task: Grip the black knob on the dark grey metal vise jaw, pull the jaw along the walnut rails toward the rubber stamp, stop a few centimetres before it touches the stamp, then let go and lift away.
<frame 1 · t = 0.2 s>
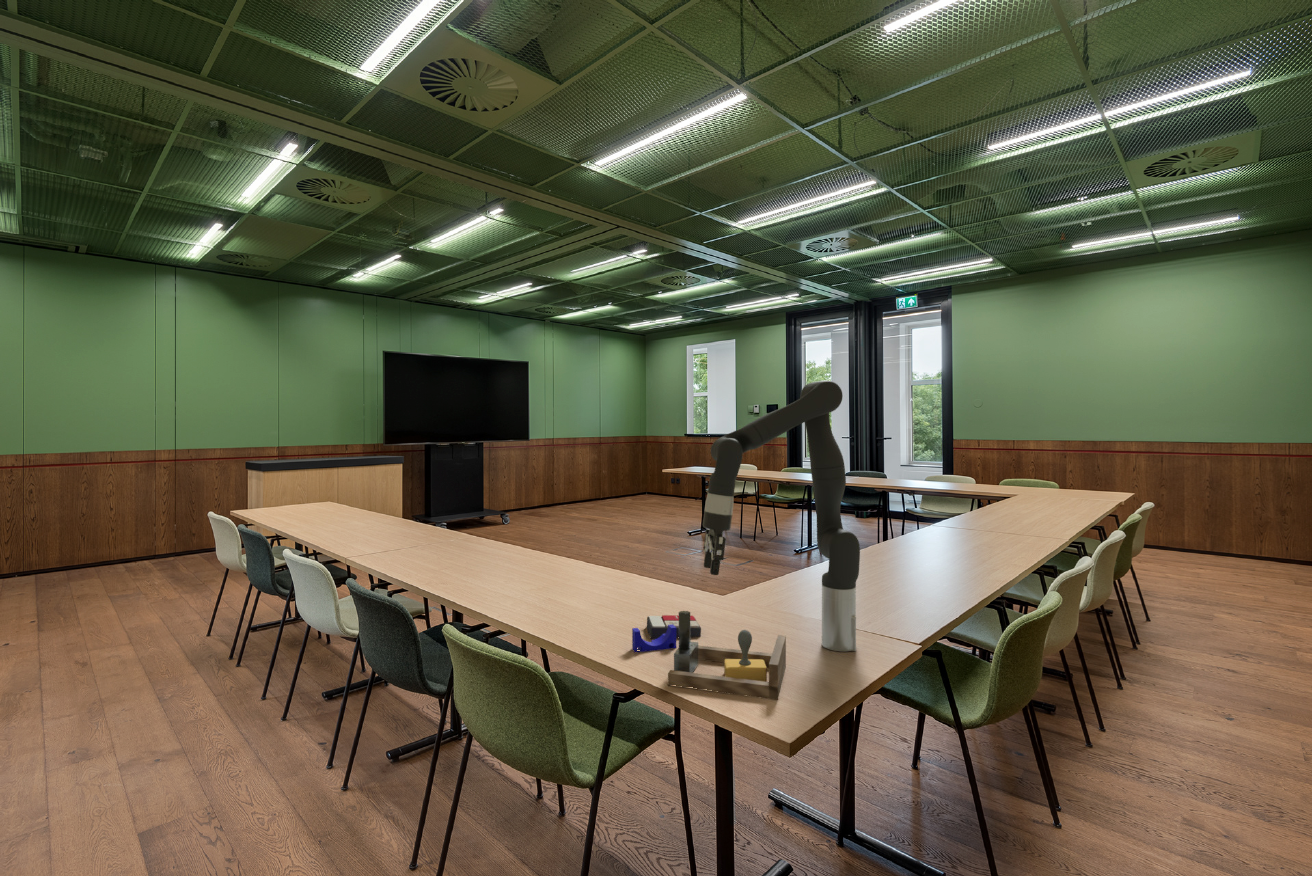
hand: (710, 571, 161), 23 cm above the table, tool pointing down, fingers open, 8 cm apart
calculator: (673, 633, 182), on the table
rubber stamp: (745, 678, 148), resting in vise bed
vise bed: (733, 676, 149), on the table
blue pipe saddle: (653, 648, 169), on the table
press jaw: (686, 641, 153), point 8 cm above the table, slide at 0.0 cm
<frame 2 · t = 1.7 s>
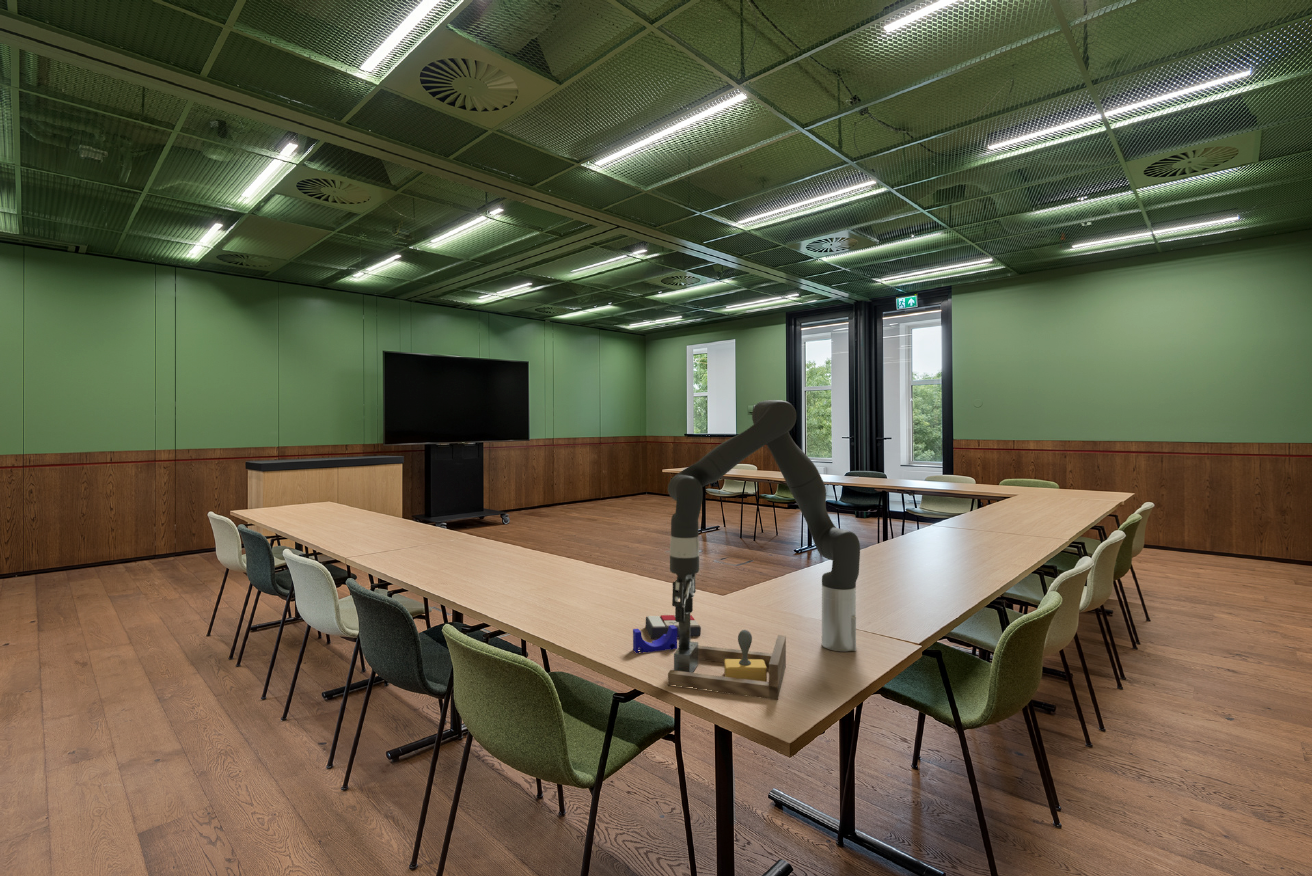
hand: (684, 616, 152), 14 cm above the table, tool pointing down, fingers open, 8 cm apart
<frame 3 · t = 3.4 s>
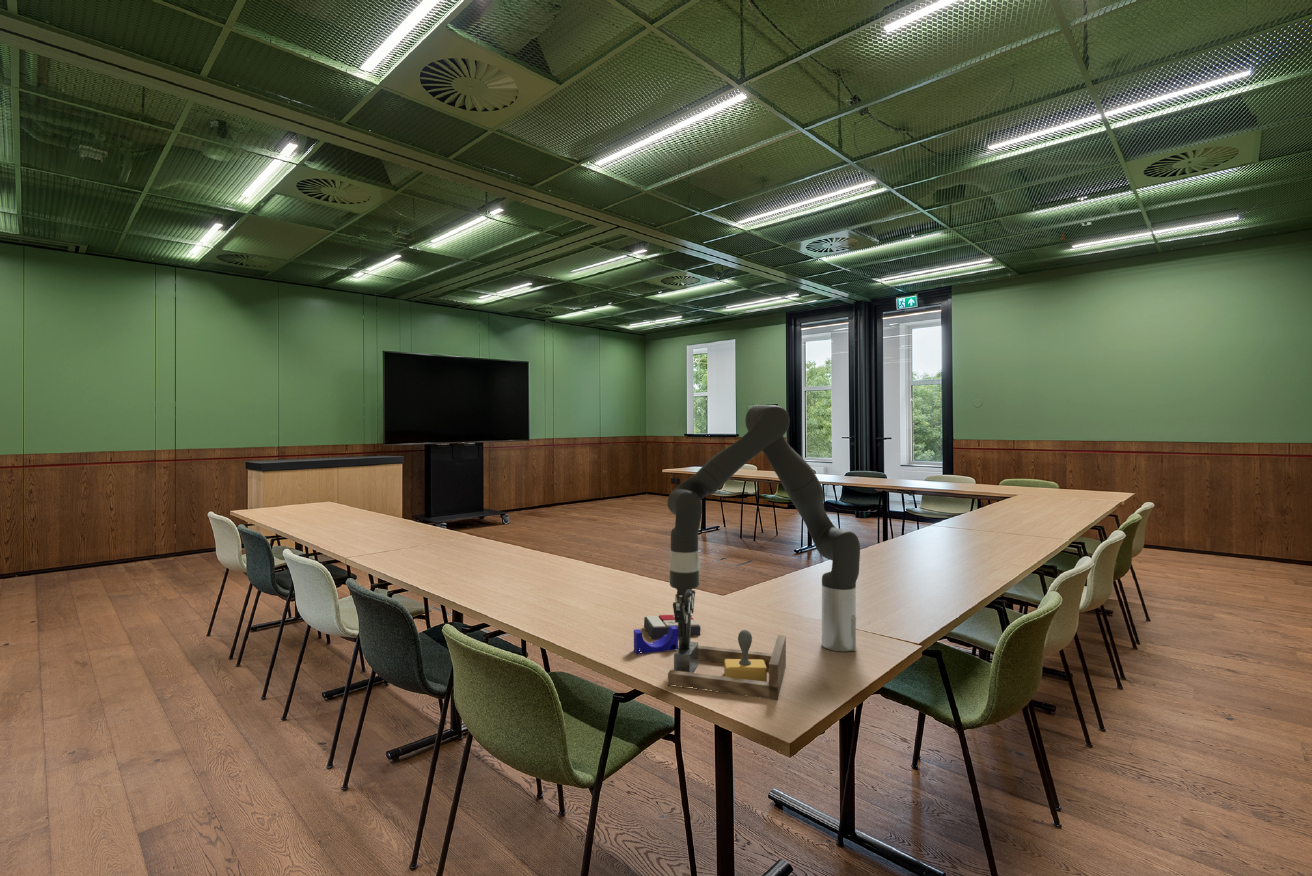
hand: (684, 634, 153), 9 cm above the table, tool pointing down, fingers closed on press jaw, 3 cm apart
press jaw: (686, 641, 153), point 8 cm above the table, slide at 0.0 cm, touching gripper
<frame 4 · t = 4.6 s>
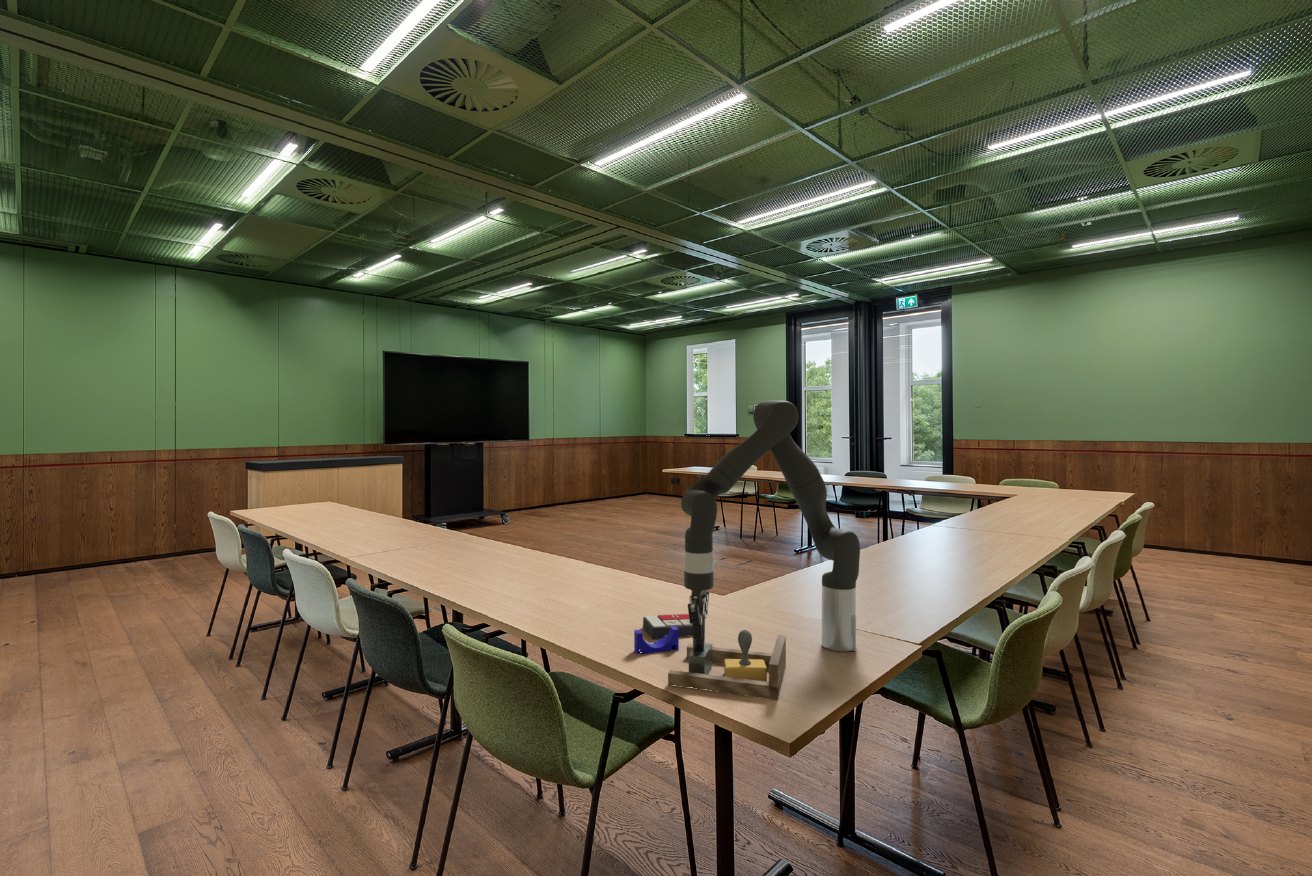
hand: (698, 636, 152), 9 cm above the table, tool pointing down, fingers closed on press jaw, 3 cm apart
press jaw: (700, 642, 151), point 8 cm above the table, slide at 3.8 cm, touching gripper
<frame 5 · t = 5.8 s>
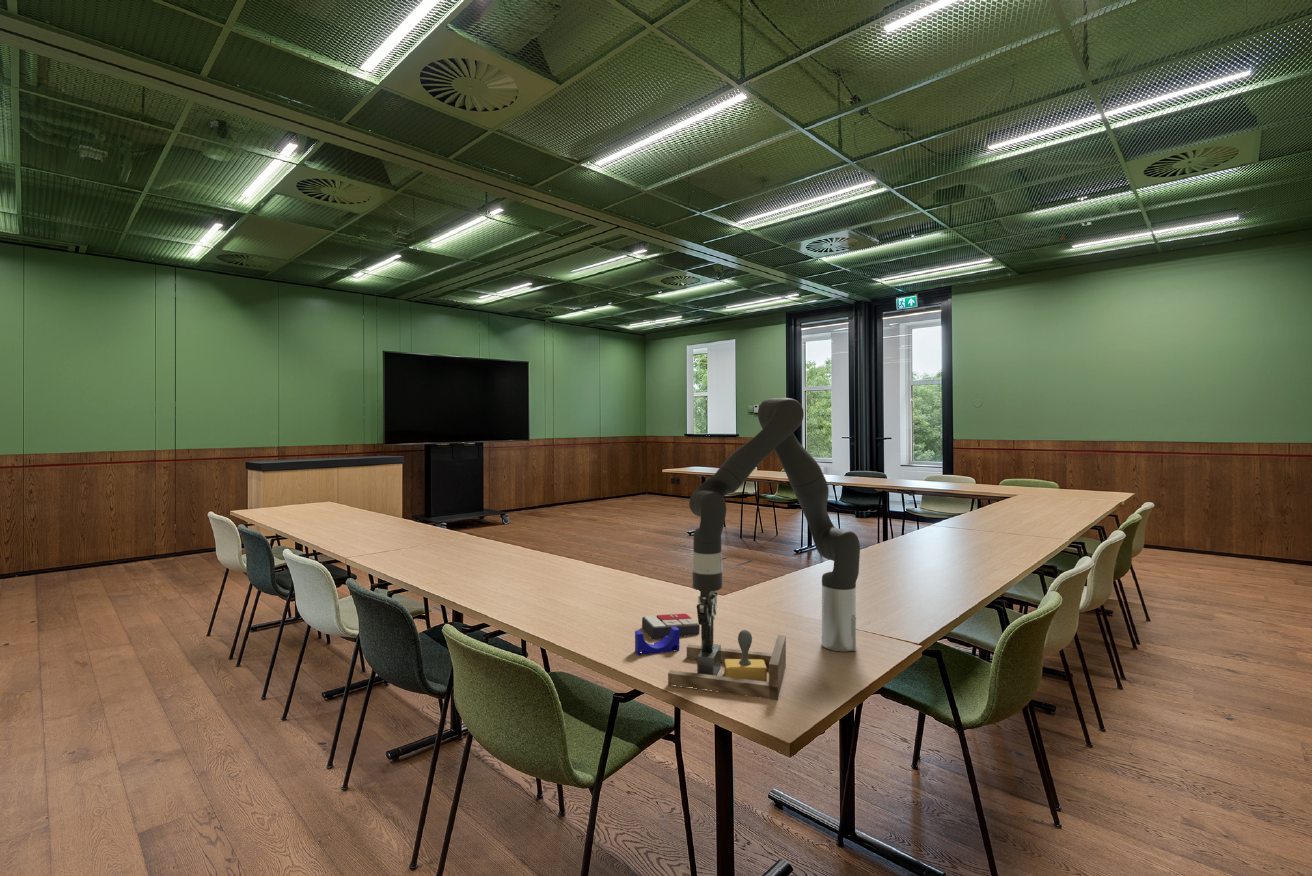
hand: (707, 637, 151), 9 cm above the table, tool pointing down, fingers closed on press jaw, 3 cm apart
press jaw: (709, 643, 151), point 8 cm above the table, slide at 6.0 cm, touching gripper
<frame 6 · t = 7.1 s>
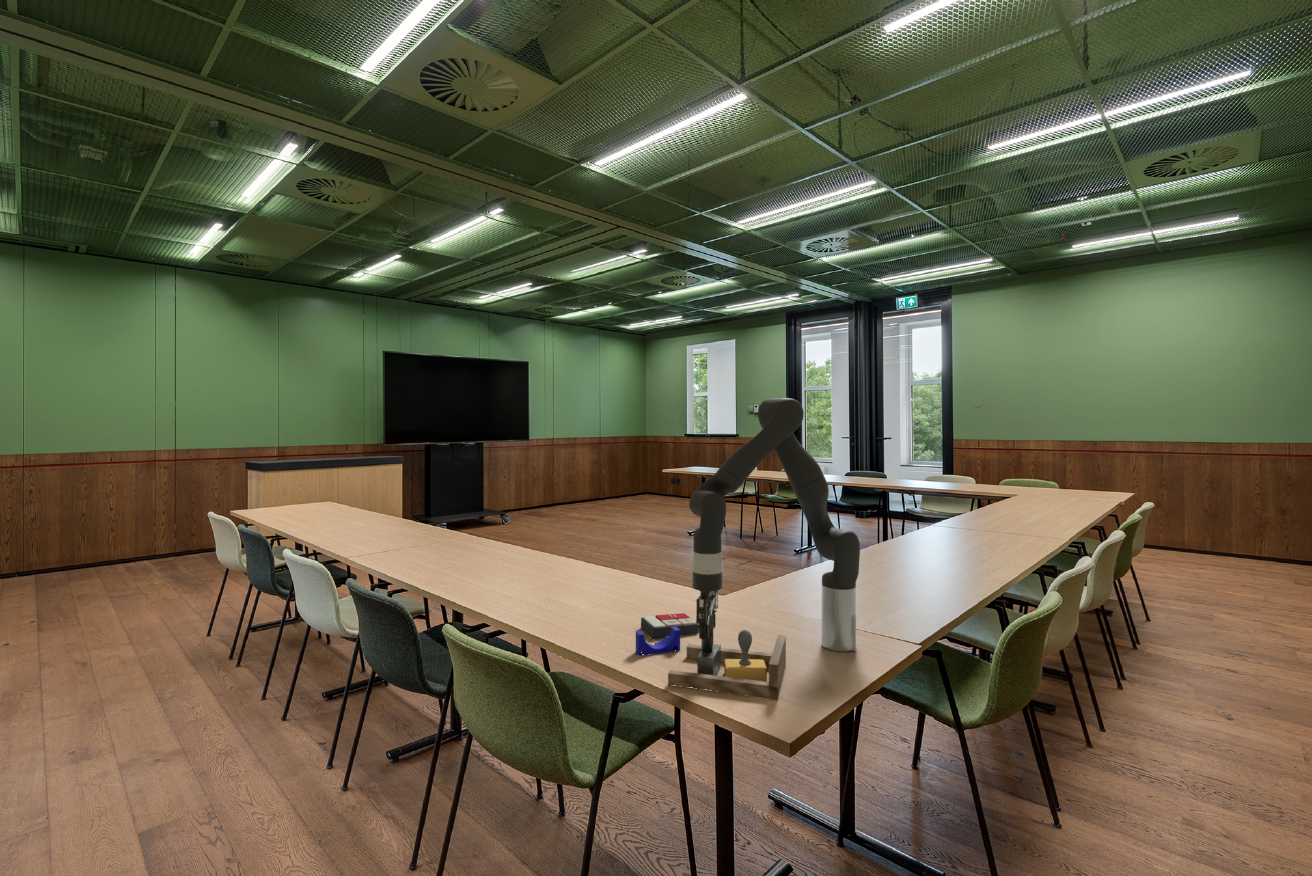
hand: (707, 633, 151), 10 cm above the table, tool pointing down, fingers open, 8 cm apart
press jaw: (709, 643, 151), point 8 cm above the table, slide at 6.0 cm
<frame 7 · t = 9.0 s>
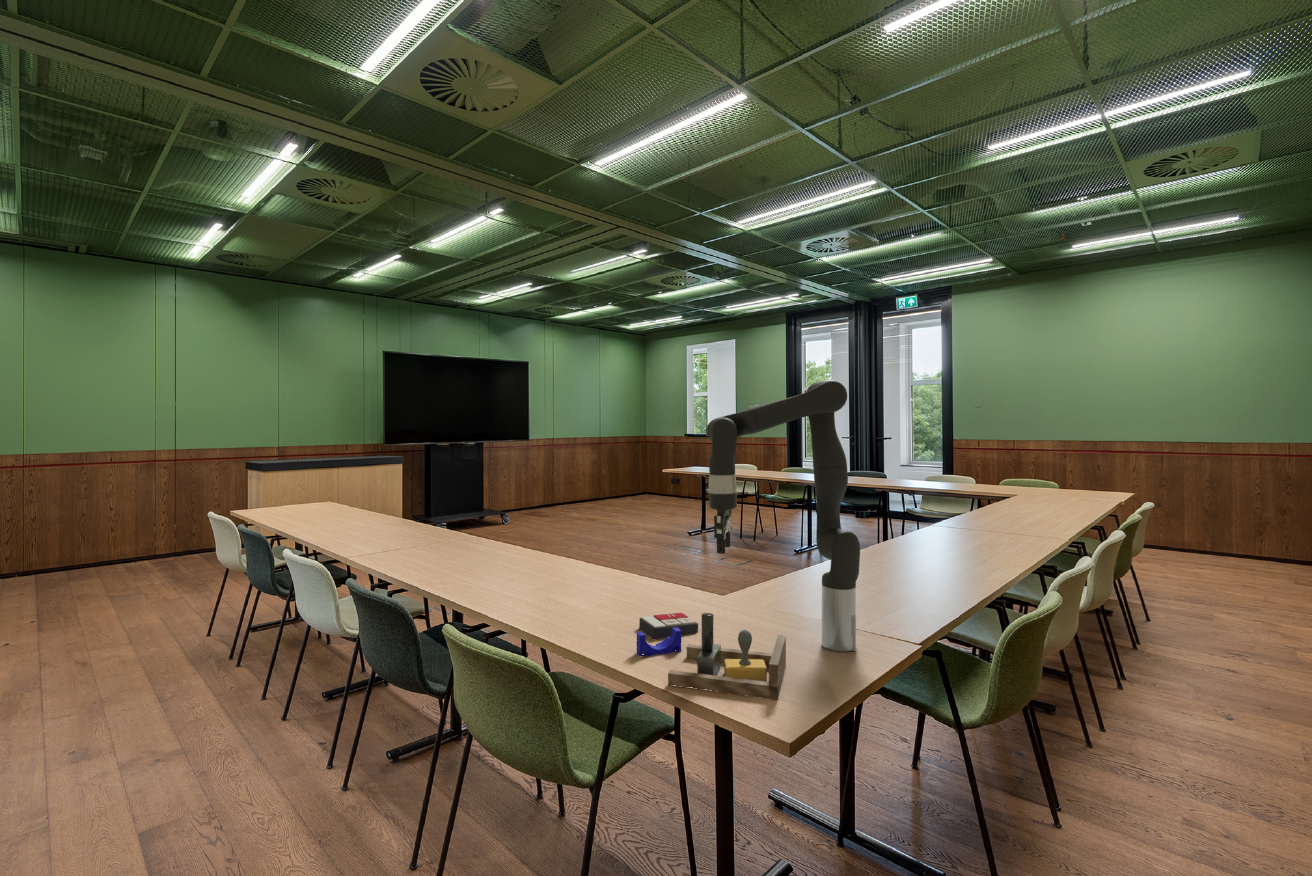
hand: (723, 550, 163), 29 cm above the table, tool pointing down, fingers open, 8 cm apart
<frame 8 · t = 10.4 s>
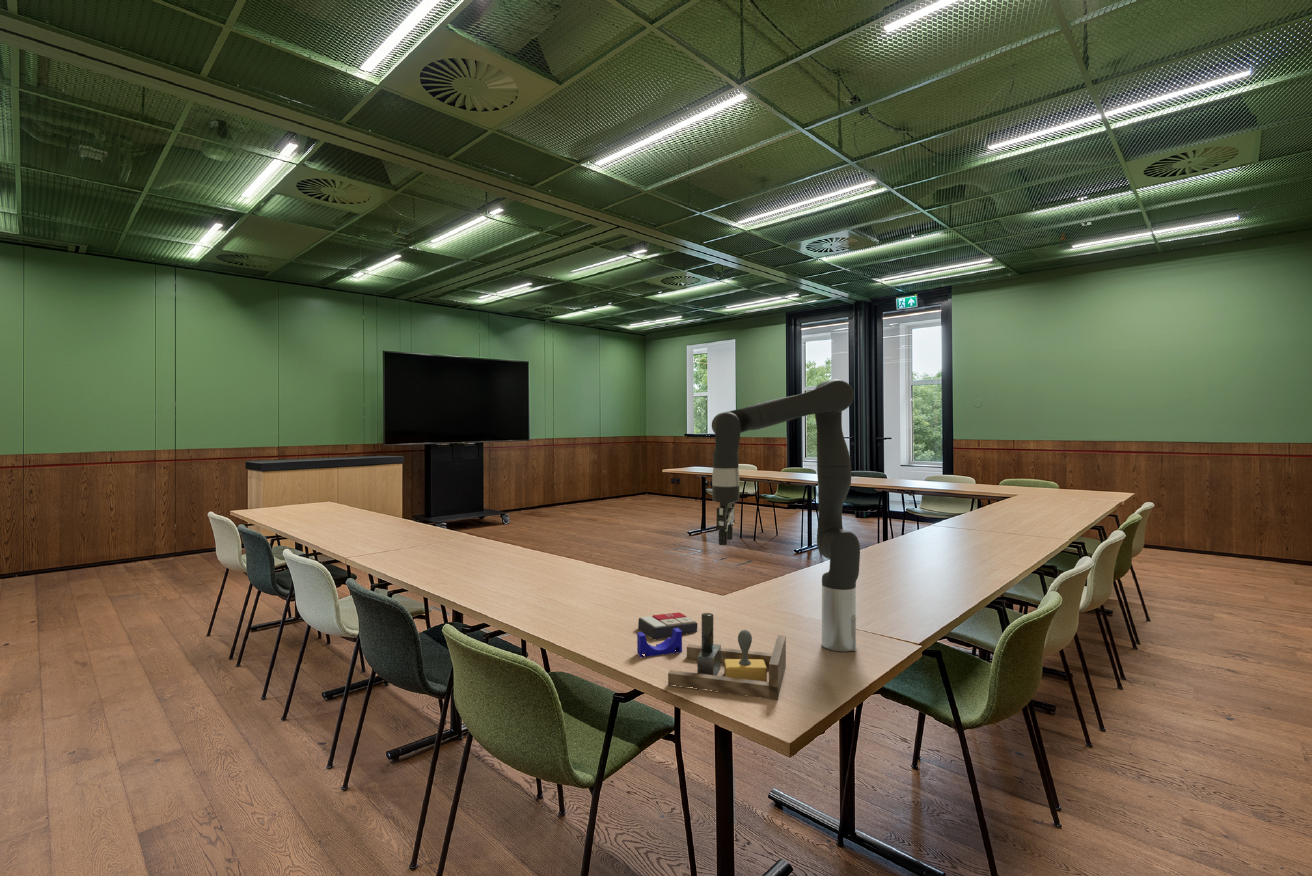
hand: (725, 542, 166), 30 cm above the table, tool pointing down, fingers open, 8 cm apart
at the end: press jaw slide at 6.0 cm; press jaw touching nothing; rubber stamp tilted 0° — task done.
